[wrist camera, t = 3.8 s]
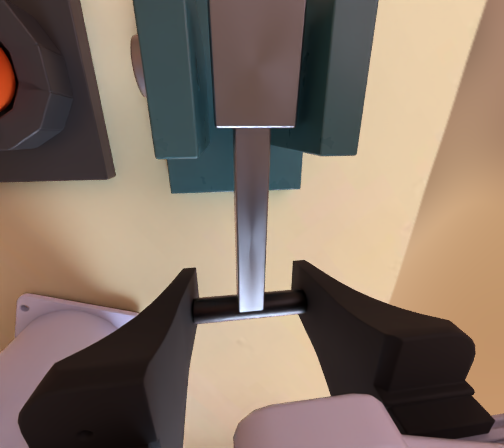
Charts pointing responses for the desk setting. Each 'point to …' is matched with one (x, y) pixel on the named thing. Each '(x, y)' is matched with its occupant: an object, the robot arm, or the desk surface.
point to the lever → (253, 136)
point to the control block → (51, 96)
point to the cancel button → (6, 81)
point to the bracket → (201, 96)
